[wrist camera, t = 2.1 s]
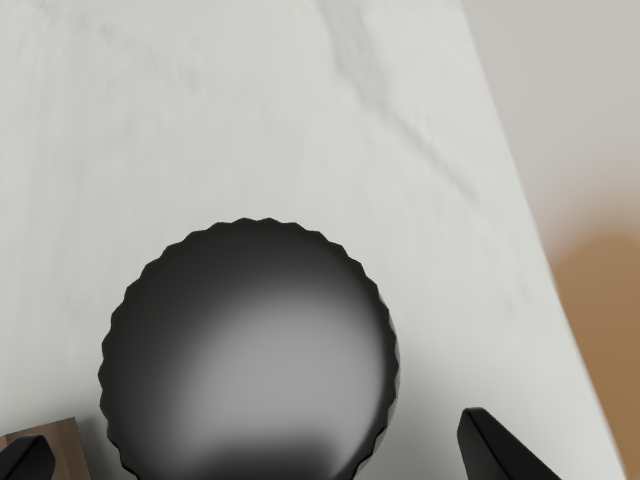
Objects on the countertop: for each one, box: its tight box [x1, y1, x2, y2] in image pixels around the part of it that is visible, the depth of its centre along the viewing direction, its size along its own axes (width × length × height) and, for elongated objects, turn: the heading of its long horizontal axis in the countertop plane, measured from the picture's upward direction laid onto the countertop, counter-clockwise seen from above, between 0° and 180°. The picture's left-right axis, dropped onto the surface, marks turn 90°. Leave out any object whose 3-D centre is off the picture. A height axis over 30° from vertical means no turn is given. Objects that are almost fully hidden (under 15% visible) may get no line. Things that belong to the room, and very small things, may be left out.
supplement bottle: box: [98, 218, 400, 480], centre depth 12 cm, size 7×7×12 cm
